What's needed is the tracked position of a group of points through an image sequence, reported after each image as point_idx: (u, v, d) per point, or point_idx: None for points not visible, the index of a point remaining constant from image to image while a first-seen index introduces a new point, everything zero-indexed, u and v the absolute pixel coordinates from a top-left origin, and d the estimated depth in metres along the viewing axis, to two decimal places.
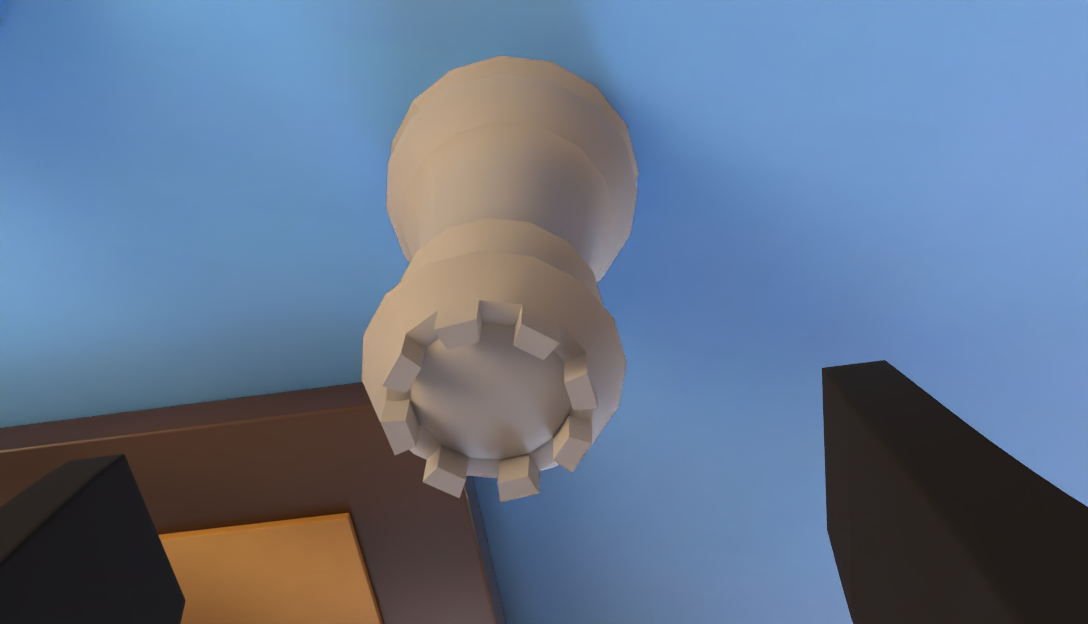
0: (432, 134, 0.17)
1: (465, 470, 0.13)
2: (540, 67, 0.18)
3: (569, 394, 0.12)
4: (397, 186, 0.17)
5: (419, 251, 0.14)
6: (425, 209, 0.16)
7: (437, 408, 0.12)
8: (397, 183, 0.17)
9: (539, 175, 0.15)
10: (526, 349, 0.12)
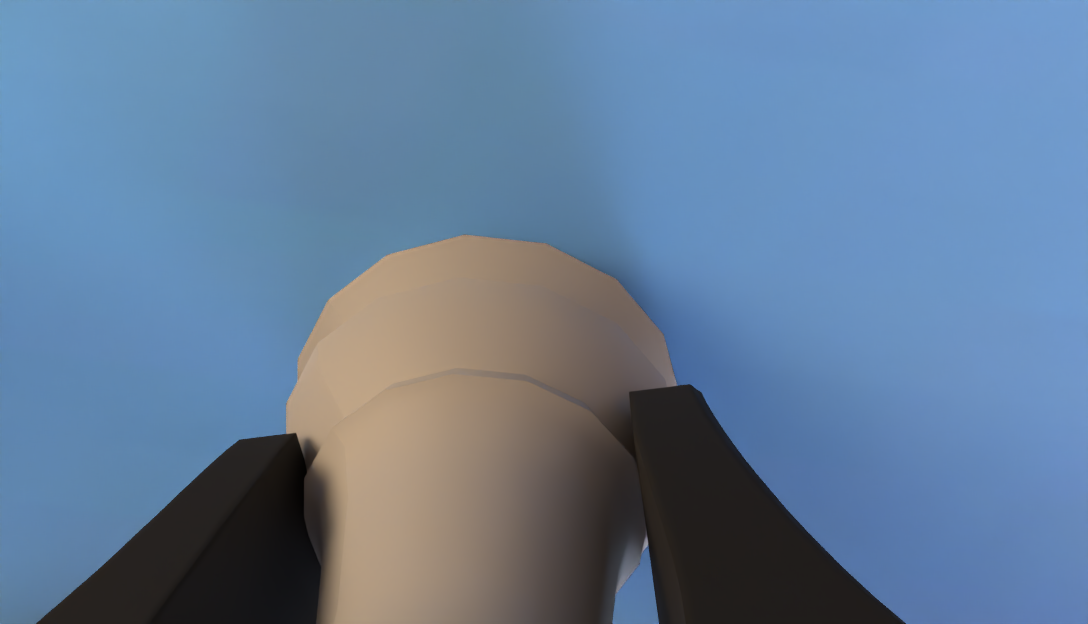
0: (349, 379, 0.10)
1: None
2: (528, 253, 0.11)
3: None
4: None
5: None
6: (331, 526, 0.09)
7: None
8: None
9: (524, 484, 0.09)
10: None
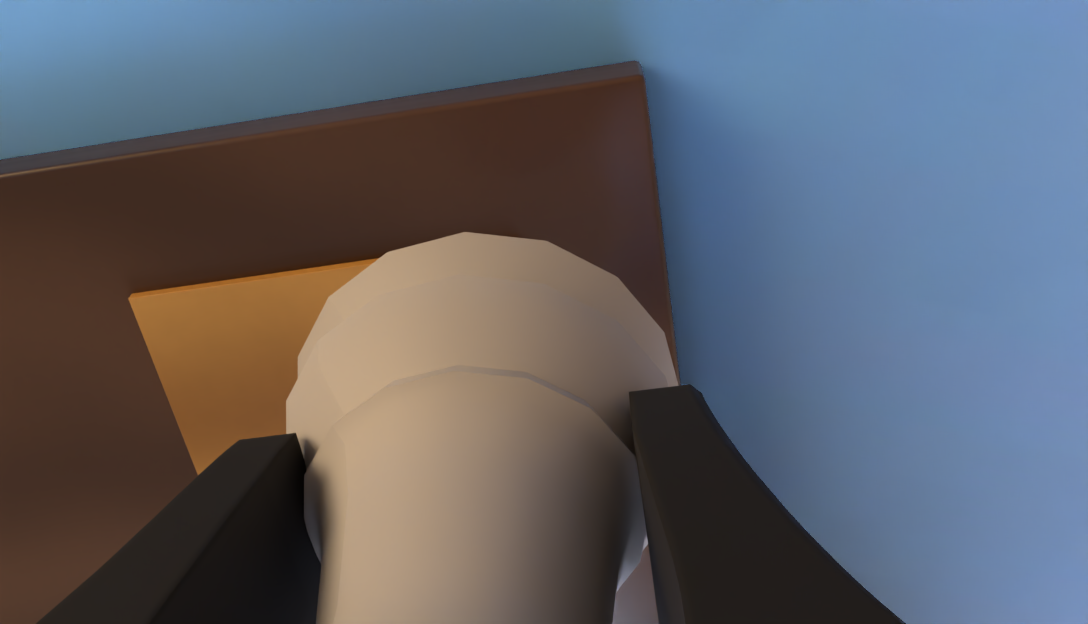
0: (349, 376, 0.10)
1: None
2: (528, 250, 0.11)
3: None
4: None
5: None
6: (331, 524, 0.09)
7: None
8: None
9: (525, 481, 0.09)
10: None
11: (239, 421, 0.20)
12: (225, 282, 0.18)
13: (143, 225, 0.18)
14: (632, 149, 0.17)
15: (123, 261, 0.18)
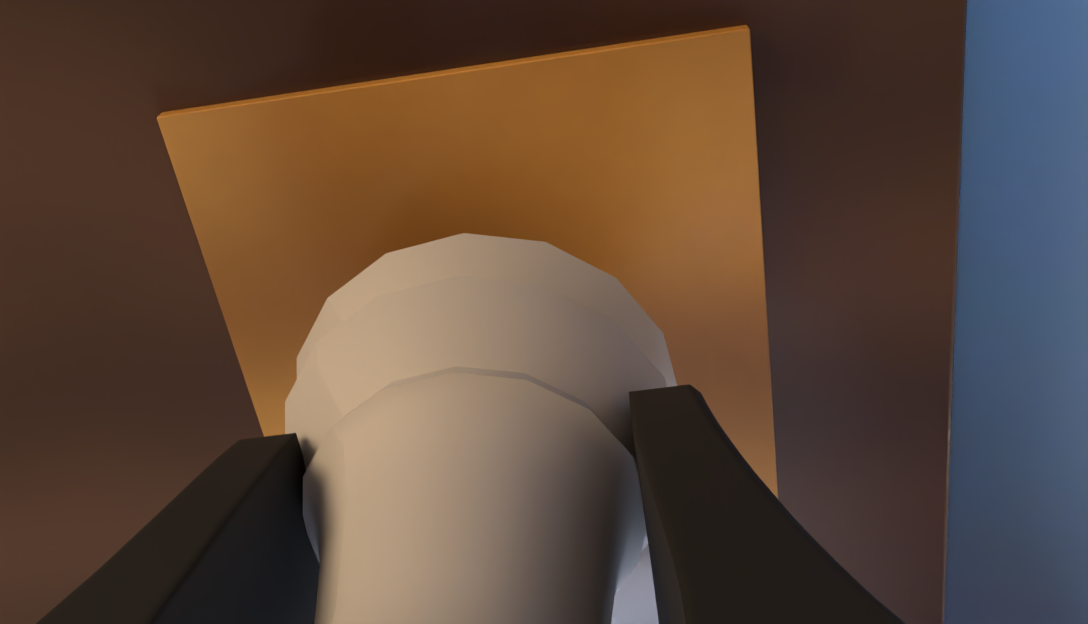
0: (349, 377, 0.10)
1: None
2: (527, 251, 0.11)
3: None
4: None
5: None
6: (330, 525, 0.09)
7: None
8: None
9: (524, 483, 0.09)
10: None
11: (313, 313, 0.14)
12: (302, 93, 0.12)
13: None
14: None
15: (149, 59, 0.12)
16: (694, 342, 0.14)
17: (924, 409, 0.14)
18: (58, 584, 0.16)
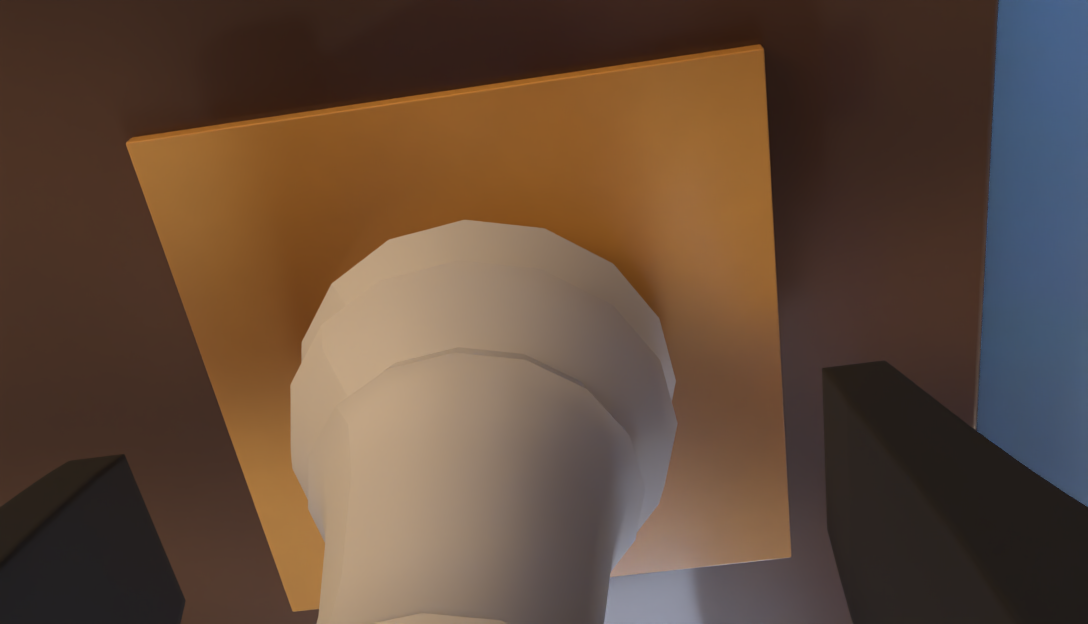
0: (352, 360, 0.10)
1: None
2: (526, 238, 0.11)
3: None
4: (301, 431, 0.11)
5: None
6: (335, 501, 0.10)
7: None
8: (301, 425, 0.11)
9: (522, 458, 0.09)
10: None
11: (296, 350, 0.13)
12: (282, 118, 0.11)
13: (150, 17, 0.11)
14: None
15: (117, 81, 0.11)
16: (703, 380, 0.13)
17: None
18: None
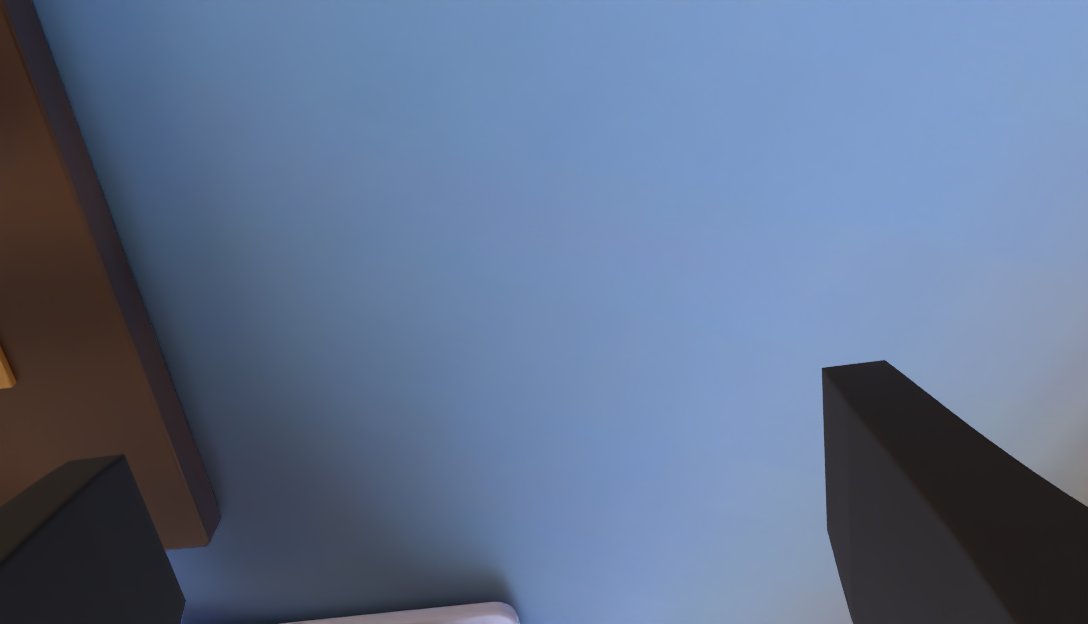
0: None
1: None
2: None
3: None
4: None
5: None
6: None
7: None
8: None
9: None
10: None
11: None
12: None
13: None
14: None
15: None
16: None
17: (96, 307, 0.19)
18: None
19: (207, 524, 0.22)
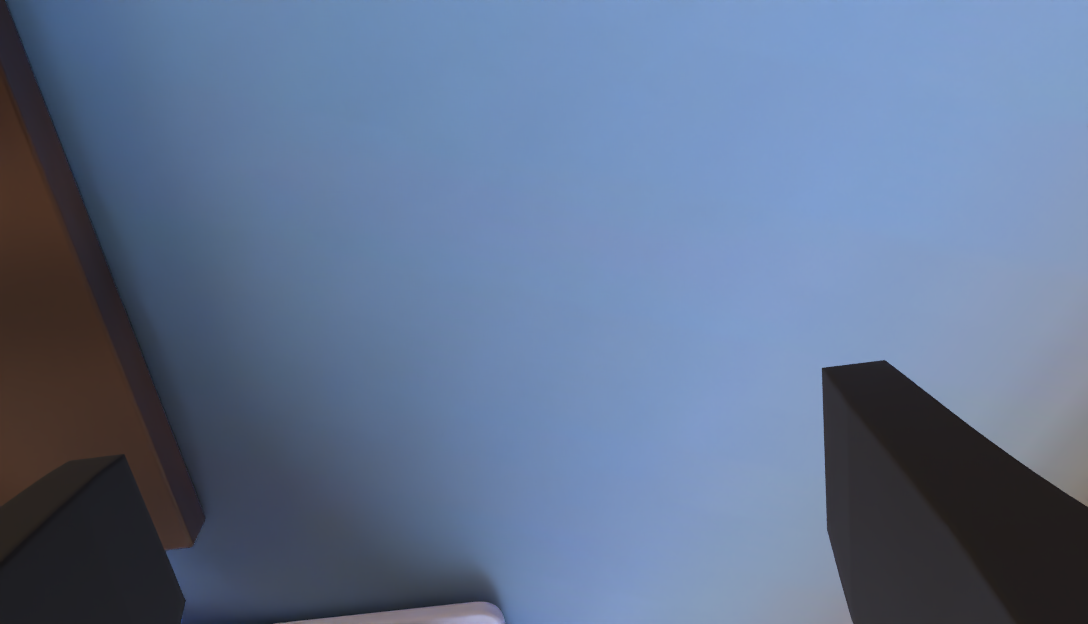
0: None
1: None
2: None
3: None
4: None
5: None
6: None
7: None
8: None
9: None
10: None
11: None
12: None
13: None
14: None
15: None
16: None
17: (75, 309, 0.19)
18: None
19: (191, 525, 0.22)
